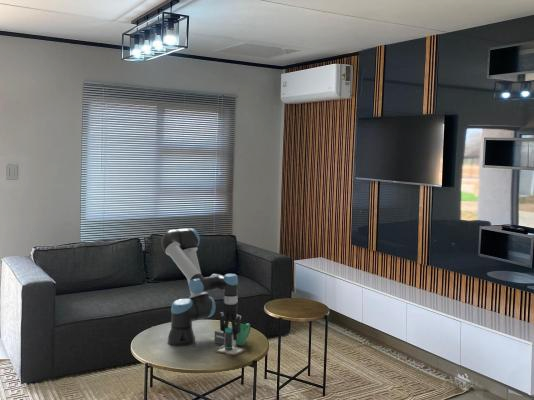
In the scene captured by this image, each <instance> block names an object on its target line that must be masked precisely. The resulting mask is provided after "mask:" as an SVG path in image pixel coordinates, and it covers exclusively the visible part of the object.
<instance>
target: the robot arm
mask: <svg viewBox="0 0 534 400" xmlns="http://www.w3.org/2000/svg"><path fill="white" fill-rule="evenodd" d="M200 241H201V237H200V234H199V232H198V231H197V230H196V229H194V228H191V227H189V228H188V227H187V228H178V229H170V230H168V231H165V233H164V234H163V235H162V238H161V248H162V250H163V252H164V253H165V254H166V255H167V256H169V257H170V258H171V260H172V261H173V263H175V264H176V266H177V268H178V269H179V270H180V271H181V272H182V274H183V276H185V278H186V279H187V284H188V288H189V292H190V296H189V297H188V298H186V297H185V298H179V299H175V300H174V301H173V302H172V303H171V308H170V312H171V313H170V314H171V317H170V320H171V321H170V323H171V324H170V325H171V326H170V331H169V333H168V337H167V343H168V344H169V345H173V346H177V347H178V346H180V347H181V346H190V345H192V344H194V343H195V341H196V337H195V333H194V329H193V322H195V321H201V320H204V319H208V318H211V317H213V315H214V314H215V313H216V301H215V300H214V298H213V297H212V296H210V295H209V292H211V291H215V290H221V291H223V311H221V312H218V315H219V330H220V332H223V337H224V338H225V328H226V327H229V324H230V323H231V327H232V330H233V334H232V346H234V347H235V346H236V342H235V340H236V339H237V334H238V333H240V325H241V324H242V323H241V322H242V318H243V315H241V314H238V301H239V300H238V296H239V295H238V293H239V291H238V289H239V288H238V287H239V279H238V278H239V277H238V275H237V274H236V273H226V274H224V275H222V274H220V273H212V274H211V275H210V276H206V277H205V276H203V275H202V271H201V267H200V263H199V262H200V261H199V258H198V254H197V251H198V249H199V247H198V246H199V245H200ZM229 322H230V323H229Z"/></svg>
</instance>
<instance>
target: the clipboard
mask: <svg viewBox="0 0 534 400" xmlns="http://www.w3.org/2000/svg"><path fill="white" fill-rule="evenodd" d="M246 351H247V349H246V348H242V347H237V346H235V345H234V346H232V349H229V350H228V349H225V345H224V344H222V345H221V346H218V348H217V349H216V350H214V352H215V353H219V354H223V355H226V356H231V357H236V358H237V356H239V355H241V354H242V353H244V352H246Z"/></svg>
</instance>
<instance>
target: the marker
mask: <svg viewBox="0 0 534 400" xmlns="http://www.w3.org/2000/svg"><path fill="white" fill-rule="evenodd" d="M232 334H233V330H232V326H228V327H226V328H225V349H228V350H229V349H232Z"/></svg>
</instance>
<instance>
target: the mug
mask: <svg viewBox="0 0 534 400" xmlns="http://www.w3.org/2000/svg"><path fill="white" fill-rule="evenodd" d="M251 326H252V325H251V324H250V323H241V325H240V333H238V334H237V339H236V340H235V345H237V346H244V345H245V343H246V341H247V339H248V337H249V334H250V333H251V328H252V327H251Z"/></svg>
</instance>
